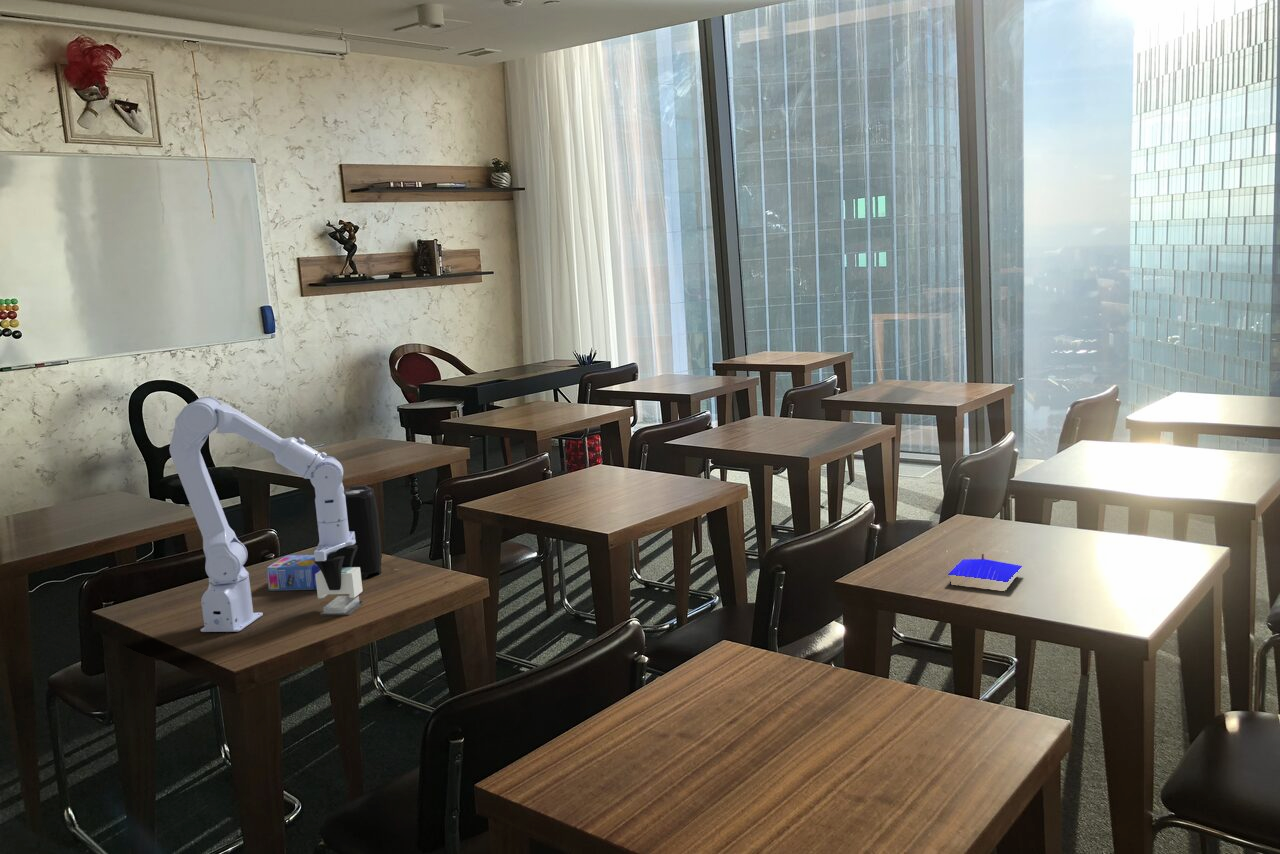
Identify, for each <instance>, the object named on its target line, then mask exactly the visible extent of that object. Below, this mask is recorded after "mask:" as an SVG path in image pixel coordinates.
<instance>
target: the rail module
mask: <svg viewBox="0 0 1280 854" xmlns="http://www.w3.org/2000/svg"><path fill="white" fill-rule="evenodd" d="M315 577H316V586H317V589H316V592H317V599H324V598H325V597H327V596H329V595H348V596H350V598H355V597H356V596H359V594H361V593H362V592H363V584H362V583H363V581H362V579H361V572H360V567H342V570H341V588H340V590H329V588H328V586H327V583H326V580H325V578H324V576H323V573H322V572H321V570H320V571H319V572H317V573H316V574H315Z"/></svg>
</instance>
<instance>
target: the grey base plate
mask: <svg viewBox="0 0 1280 854" xmlns="http://www.w3.org/2000/svg"><path fill="white" fill-rule="evenodd" d="M363 604H364V601H360V596H359V595H357V596H356V597H355V598H350V596H349V595H338V596H336V597H335V598H333V599H332V600H331V601H329V603H328V604H326V605H325V606H323V607H322V609H323V611H321V612H320V613H319V616H320V617H321V616H350V615H351V614H353V613H354V611H356V610H357V609H358V608H359V607H360V606H362V605H363Z"/></svg>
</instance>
